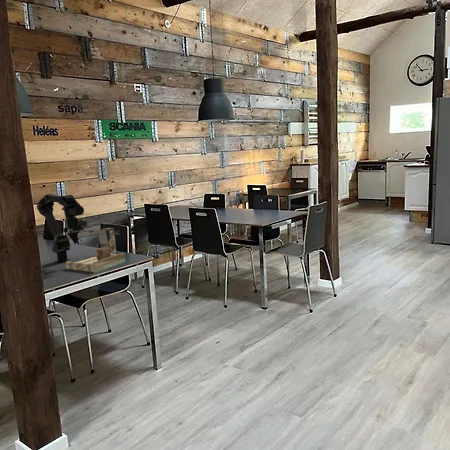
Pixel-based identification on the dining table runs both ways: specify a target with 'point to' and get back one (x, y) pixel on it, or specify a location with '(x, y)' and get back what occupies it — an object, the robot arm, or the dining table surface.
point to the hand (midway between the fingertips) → (75, 243)
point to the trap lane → (96, 263)
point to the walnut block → (103, 253)
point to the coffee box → (107, 239)
